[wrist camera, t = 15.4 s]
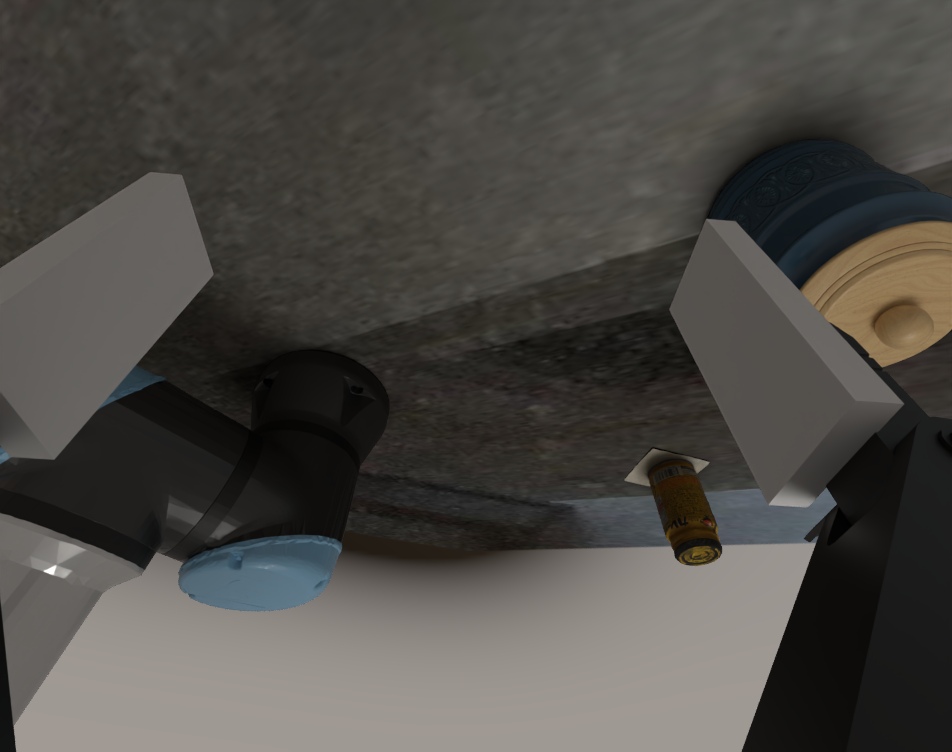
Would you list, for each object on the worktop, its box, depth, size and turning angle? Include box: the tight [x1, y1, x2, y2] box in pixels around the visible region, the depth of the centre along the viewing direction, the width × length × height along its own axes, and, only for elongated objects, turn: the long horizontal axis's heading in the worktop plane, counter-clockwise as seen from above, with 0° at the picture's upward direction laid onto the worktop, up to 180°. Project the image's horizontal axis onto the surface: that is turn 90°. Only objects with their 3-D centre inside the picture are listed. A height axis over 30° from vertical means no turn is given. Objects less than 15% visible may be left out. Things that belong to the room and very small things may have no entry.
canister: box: [708, 139, 952, 367], centre depth 35 cm, size 13×13×18 cm
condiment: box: [624, 449, 722, 566], centre depth 60 cm, size 7×8×12 cm
